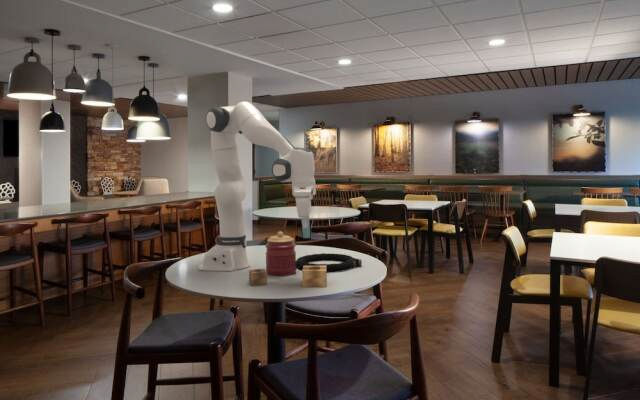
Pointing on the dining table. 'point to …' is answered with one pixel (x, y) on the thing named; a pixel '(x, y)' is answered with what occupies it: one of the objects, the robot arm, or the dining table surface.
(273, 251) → the canister
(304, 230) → the teal peg
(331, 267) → the cable lock
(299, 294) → the dining table surface
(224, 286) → the dining table surface
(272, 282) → the dining table surface
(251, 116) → the robot arm
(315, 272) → the wooden square frame
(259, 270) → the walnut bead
